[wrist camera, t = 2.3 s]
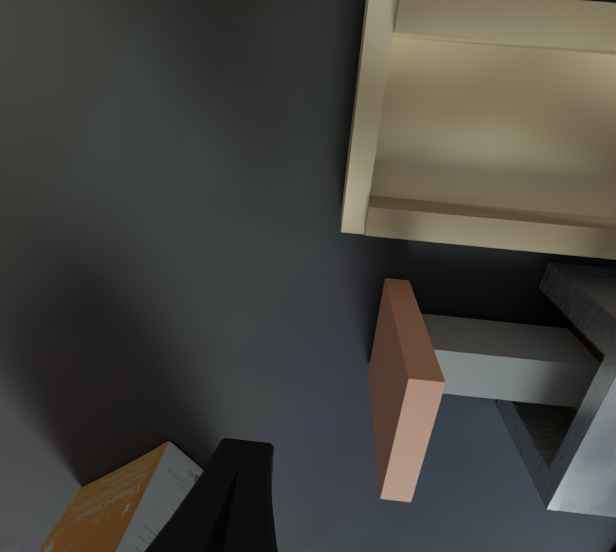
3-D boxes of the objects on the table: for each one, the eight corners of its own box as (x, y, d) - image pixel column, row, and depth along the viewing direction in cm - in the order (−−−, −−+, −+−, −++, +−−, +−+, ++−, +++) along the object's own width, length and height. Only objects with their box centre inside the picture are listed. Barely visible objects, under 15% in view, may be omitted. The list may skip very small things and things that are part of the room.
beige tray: (702, 249, 15) (761, 276, 13) (340, 215, 16) (340, 236, 14) (820, 32, 12) (924, 21, 10) (366, -3, 13) (371, -21, 11)
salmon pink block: (540, 392, 18) (629, 527, 13) (368, 373, 19) (380, 498, 13) (580, 297, 16) (709, 410, 11) (384, 278, 17) (408, 378, 11)
